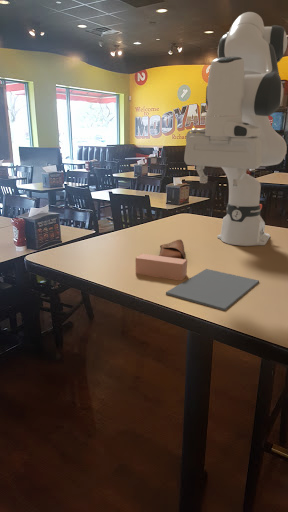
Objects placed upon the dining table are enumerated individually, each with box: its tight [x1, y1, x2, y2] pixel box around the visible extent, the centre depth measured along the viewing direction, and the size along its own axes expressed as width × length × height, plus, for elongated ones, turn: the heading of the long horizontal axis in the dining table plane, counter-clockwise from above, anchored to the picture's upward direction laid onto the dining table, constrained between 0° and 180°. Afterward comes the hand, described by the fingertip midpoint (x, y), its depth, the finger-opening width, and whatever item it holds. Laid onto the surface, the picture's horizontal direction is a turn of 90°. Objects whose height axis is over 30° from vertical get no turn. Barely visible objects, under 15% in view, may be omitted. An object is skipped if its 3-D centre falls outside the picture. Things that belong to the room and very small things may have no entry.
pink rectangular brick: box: [135, 253, 188, 281], centre depth 109 cm, size 4×14×5 cm, turn 67°
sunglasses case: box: [158, 239, 186, 259], centre depth 124 cm, size 18×7×7 cm
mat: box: [165, 268, 260, 312], centre depth 99 cm, size 22×16×1 cm
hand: (219, 184), depth 99 cm, fingers open, 8 cm apart
